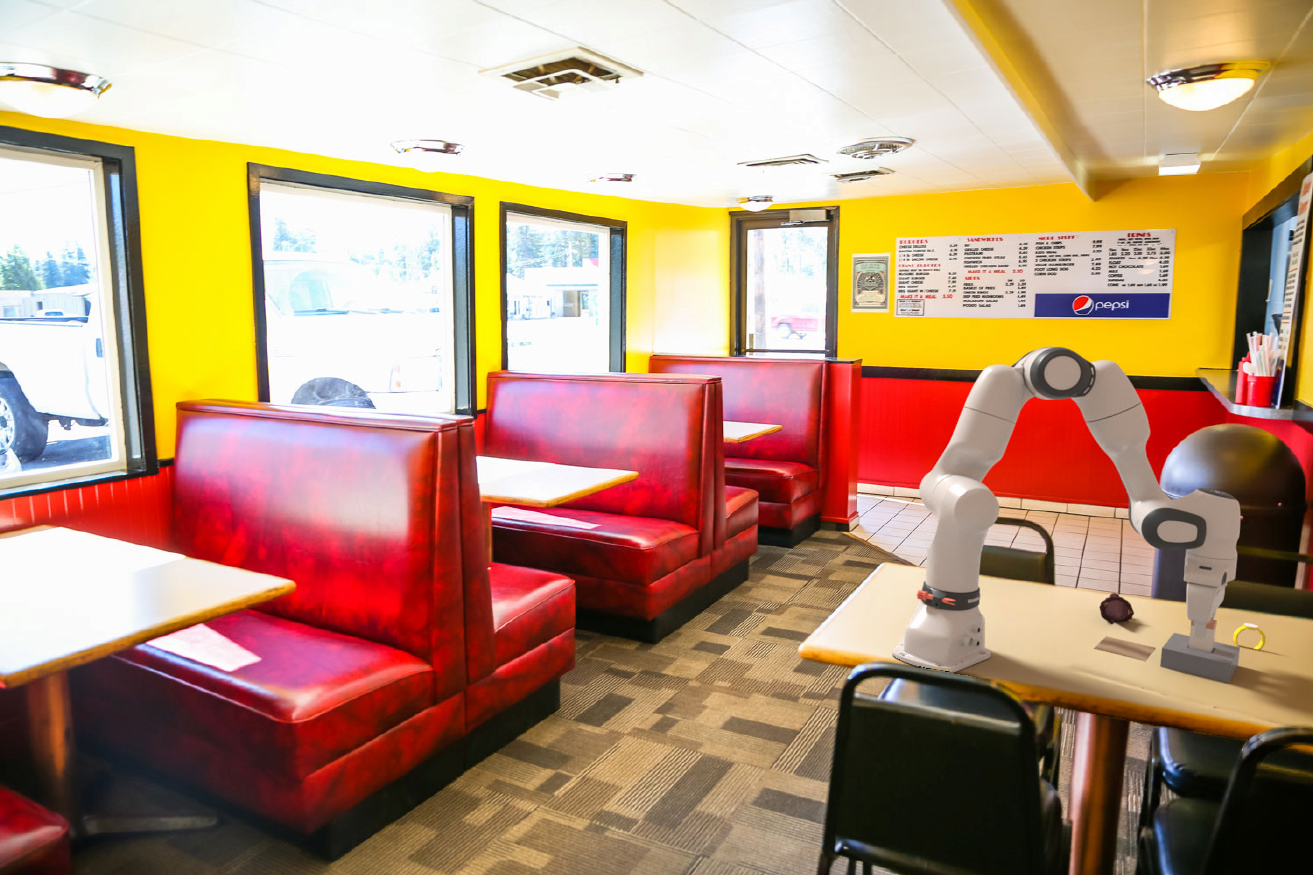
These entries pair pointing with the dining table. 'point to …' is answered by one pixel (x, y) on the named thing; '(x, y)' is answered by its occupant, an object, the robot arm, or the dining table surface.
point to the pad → (1125, 648)
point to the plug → (1208, 641)
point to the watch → (1250, 627)
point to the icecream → (1116, 609)
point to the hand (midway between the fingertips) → (1203, 631)
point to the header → (1200, 659)
